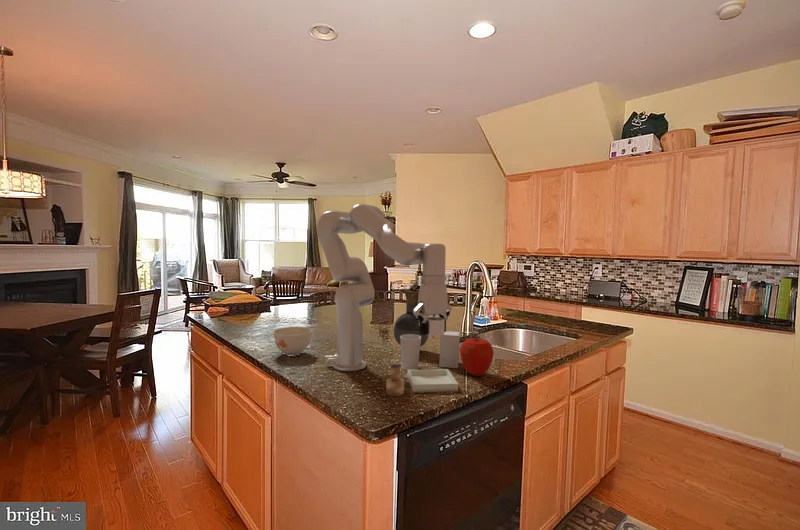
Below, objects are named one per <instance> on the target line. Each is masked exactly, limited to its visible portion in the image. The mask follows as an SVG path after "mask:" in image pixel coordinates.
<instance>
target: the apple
mask: <svg viewBox="0 0 800 530" xmlns="http://www.w3.org/2000/svg"><path fill="white" fill-rule="evenodd" d="M494 354H495V352H494V349H493V345H492V344H491V342H489V341H488V340H487V339H483V338H479V337H478V336H476V337H470V338H467V339H466V340H464V341H463V342H462V343H461V345H460V346H459V355H460V360H461V362H462V366H463V368H464V370H465V371H466V372H468V374H469V375H471V376H475V377H482V376H483V375H484V374H486V373H487V372H488V370H489V369H490V366H491V365H492V363H493V359H494Z"/></svg>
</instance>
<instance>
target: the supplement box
mask: <svg viewBox="0 0 800 530" xmlns="http://www.w3.org/2000/svg"><path fill="white" fill-rule="evenodd" d="M460 337H461V336H460V331H450V330H449V331H448V330H446V332H444V334H443V335H441V336H439V367H441V368H451V369H452V368H453V369H458V368H459V363H460V361H459V360H460V339H461V338H460Z"/></svg>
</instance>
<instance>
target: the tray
mask: <svg viewBox="0 0 800 530" xmlns="http://www.w3.org/2000/svg"><path fill="white" fill-rule="evenodd" d="M406 371H407V372H406V373H407V375H406V377H407V380H408V382H409V386H410V388H411V391H412V393H446V392H448V393H450V392H459V382H458V381H457V380H456V378H455V377H454V376H453V374H452V373H451V371H450V370H449V369H448V368H439V369H438V368H432V369H429V368H427V369H423V368H422V369H417V370H406Z"/></svg>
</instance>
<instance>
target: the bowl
mask: <svg viewBox="0 0 800 530" xmlns="http://www.w3.org/2000/svg"><path fill="white" fill-rule="evenodd" d="M313 331H314V330H313V329H311V327H306V326H288V327H287V326H286V327H281V328H277V329H275V330H273V331H272V335H273V339H274V342H275V345H276V347H277V349H278V350H279V351H281V352H282V353H284V355H285V354H286V355H298V354H300V355H301V354H302V352H304V351H306V349H307V348H309V345H310V344H311V339H312V335H313ZM286 355H285V356H286Z"/></svg>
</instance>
